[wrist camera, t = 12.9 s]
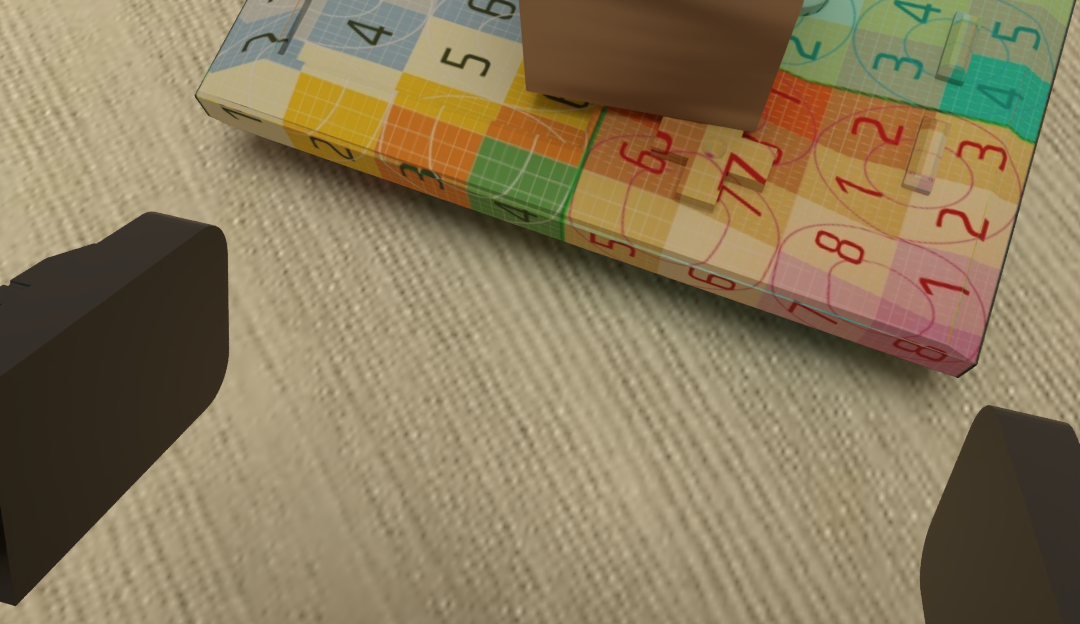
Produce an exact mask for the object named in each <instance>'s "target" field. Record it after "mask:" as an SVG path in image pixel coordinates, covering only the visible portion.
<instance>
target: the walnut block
mask: <svg viewBox="0 0 1080 624" xmlns="http://www.w3.org/2000/svg"><path fill="white" fill-rule="evenodd" d="M803 3H804V0H519V10H520V22H521V34H522V46H523V59H524V71H525V83H526V91H529V92H534V93H540V94H545V95H551V96H556V97H562V98H567V99H573V100H578V101H584V102H589V103H595V104H600V105H606V106H611V107H617V108H622V109H628V110H634V111H639V112H645V113H650V114H656V115H661V116H667V117H672V118H678V119H683V120H689V121H694V122H700V123H705V124H711V125H716V126H722V127H727V128H733V129H738V130H744V131H750V132H756V129H757V127H758V124H759V121H760V119H761V116H762V113H763V110H764V108H765V105H766V102H767V100H768V97H769V94H770V92H771V89H772V86H773V84H774V81H775V78H776V75H777V73H778V70H779V67H780V65H781V62H782V59H783V57H784V54H785V51H786V48H787V46H788V43H789V40H790V38H791V35H792V32H793V30H794V27H795V24H796V22H797V19H798V16H799V13H800V11H801V8H802V5H803Z"/></svg>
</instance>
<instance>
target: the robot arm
mask: <svg viewBox="0 0 1080 624" xmlns="http://www.w3.org/2000/svg"><path fill="white" fill-rule="evenodd" d="M228 357H229V310H228V250H227V242H226V238H225V235H224V234H223V232H222V230H221V229H220V228H219V227H217V226H214V225H210V224H205V223H201V222H197V221H192V220H188V219H184V218H179V217H175V216H170V215H166V214H162V213H157V212H147V213H145V214H142V215H141V216H139V217H138V218H136V219H135V220H133V221H131V222H130V223H128V224H127V225H125V226H124V227H122V228H120V229H119V230H117V231H116V232H114V233H113V234H111V235H109V236H108V237H106V238H105V239H103V240H102V241H100V242H98V243H97V244H95V243H94V244H91V245H87V246H84V247H81V248H78V249H75V250H71V251H68V252H65V253H62V254H58V255H55V256H52V257H49V258H46V259H44V260H43V261H41V262H39V263H38V264H36V265H34V266H33V267H31V268H30V269H28V270H26V271H25V272H23V273H21V274H20V275H18V276H17V277H15V278H13V279H12V280H10V285H9V286H6V285H2V286H0V602H3V603H7V604H10V605H13V606H16V605H17V604H18V603H19V602H20V601H21V600H22V599H23V598H24V597H25V596H26V595H27V594H28V593H29V592H30V591H31V590H32V589H33V588H34V587H35V586H36V585H37V584H38V583H39V582H40V581H41V580H42V578H43V577H44V576H45V575H46V574H47V573H48V572H49V571H50V570H51V569H52V568H53V567H54V566H55V565H56V564H57V563H58V562H59V561H60V560H61V559H62V558H63V557H64V556H65V555H66V554H67V553H68V552H69V551H70V549H71V548H72V547H73V546H74V545H75V544H76V543H77V542H78V541H79V540H80V539H81V538H82V537H83V536H84V535H85V534H86V533H87V532H88V531H89V530H90V529H91V528H92V527H93V526H94V525H95V524H96V523H97V522H98V520H99V519H100V518H101V517H102V516H103V515H104V514H105V513H106V512H107V511H108V510H109V509H110V508H111V507H112V506H113V505H114V504H115V503H116V502H117V501H118V500H119V499H120V498H121V497H122V496H123V495H124V494H125V493H126V491H127V490H128V489H129V488H130V487H131V486H132V485H133V484H134V483H135V482H136V481H137V480H138V479H139V478H140V477H141V476H142V475H143V474H144V473H145V472H146V471H147V470H148V469H149V468H150V467H151V466H152V465H153V464H154V462H155V461H156V460H157V459H158V458H159V457H160V456H161V455H162V454H163V453H164V452H165V451H166V450H167V449H168V448H169V447H170V446H171V445H172V444H173V443H174V442H175V441H176V440H177V439H178V438H179V437H180V436H181V435H182V434H183V432H184V431H185V430H186V429H187V428H188V427H189V426H190V425H191V424H192V423H193V422H194V421H195V420H196V419H197V418H198V417H199V416H200V415H201V414H202V413H203V412H204V411H205V410H206V409H207V408H208V406H209V405H210V404H211V403H212V401H213V400H214V398H215V397H216V395H217V393H218V391H219V389H220V387H221V385H222V382H223V379H224V376H225V373H226V369H227V364H228ZM920 590H921V597H922V604H923V610H924V617H925V623H926V624H1080V444H1079V441H1078V439H1077V437H1076V434H1075V432H1074V430H1073V428H1072V427H1071V426H1070V425H1069V424H1068V423H1065V422H1061V421H1057V420H1052V419H1048V418H1043V417H1039V416H1035V415H1030V414H1026V413H1022V412H1017V411H1013V410H1009V409H1004V408H1000V407H996V406H991V405H987V406H985V407H983V408H982V409H981V410H980V411H979V413H978V414H977V416H976V417H975V419H974V421H973V423H972V425H971V427H970V430H969V432H968V434H967V437H966V439H965V442H964V444H963V447H962V449H961V451H960V454H959V456H958V459H957V461H956V463H955V466H954V468H953V471H952V473H951V476H950V478H949V480H948V483H947V485H946V488H945V490H944V492H943V495H942V497H941V500H940V502H939V504H938V507H937V509H936V512H935V514H934V517H933V519H932V521H931V524H930V527H929V529H928V532H927V536H926V539H925V543H924V548H923V553H922V559H921V567H920Z"/></svg>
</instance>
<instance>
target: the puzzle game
mask: <svg viewBox="0 0 1080 624" xmlns="http://www.w3.org/2000/svg"><path fill="white" fill-rule="evenodd" d="M1075 3H1076V0H804V3H803V5H802V8H801V11H800V13H799V16H798V19H797V22H796V24H795V27H794V30H793V32H792V35H791V38H790V40H789V43H788V46H787V48H786V51H785V54H784V57H783V59H782V62H781V65H780V67H779V70H778V73H777V75H776V78H775V81H774V84H773V86H772V89H771V92H770V94H769V97H768V100H767V102H766V105H765V108H764V110H763V113H762V116H761V119H760V121H759V124H758V127H757V129H756V132H750V131H744V130H738V129H733V128H727V127H722V126H716V125H711V124H705V123H700V122H694V121H689V120H683V119H678V118H672V117H667V116H661V115H656V114H650V113H645V112H639V111H634V110H628V109H622V108H617V107H611V106H606V105H600V104H595V103H589V102H584V101H578V100H573V99H567V98H562V97H556V96H551V95H545V94H540V93H534V92H529V91H526V83H525V71H524V59H523V46H522V34H521V22H520V10H519V0H246V2H245V4H244V6H243V7H242V9H241V11H240V13H239V15H238V17H237V18H236V20H235V22H234V24H233V26H232V28H231V29H230V31H229V33H228V35H227V37H226V39H225V40H224V42H223V44H222V46H221V48H220V50H219V51H218V53H217V55H216V57H215V59H214V61H213V62H212V64H211V66H210V68H209V70H208V72H207V73H206V75H205V77H204V79H203V81H202V83H201V85H200V86H199V88H198V90H197V92H196V94H195V98H196V99H197V100H198V102H199V103H200V105H201V106H202V107H203V109H204V110H205V112H206V113H207V114H208V116H210V117H212V118H215V119H217V120H219V121H221V122H223V123H225V124H227V125H230V126H232V127H235V128H238V129H241V130H244V131H247V132H249V133H252V134H255V135H258V136H261V137H264V138H267V139H270V140H273V141H275V142H278V143H281V144H284V145H287V146H290V147H293V148H296V149H299V150H301V151H304V152H307V153H310V154H313V155H316V156H319V157H322V158H324V159H327V160H330V161H333V162H336V163H339V164H342V165H345V166H348V167H350V168H353V169H356V170H359V171H362V172H365V173H368V174H371V175H374V176H376V177H379V178H382V179H385V180H388V181H391V182H394V183H397V184H400V185H402V186H405V187H408V188H411V189H414V190H417V191H420V192H423V193H426V194H428V195H431V196H434V197H437V198H440V199H443V200H446V201H449V202H452V203H454V204H457V205H460V206H463V207H466V208H469V209H472V210H475V211H477V212H480V213H483V214H486V215H489V216H492V217H495V218H498V219H501V220H503V221H506V222H509V223H512V224H515V225H518V226H521V227H524V228H527V229H529V230H532V231H535V232H538V233H541V234H544V235H547V236H550V237H553V238H555V239H558V240H561V241H564V242H567V243H570V244H573V245H576V246H579V247H581V248H584V249H587V250H590V251H593V252H596V253H599V254H602V255H605V256H607V257H610V258H613V259H616V260H619V261H622V262H625V263H628V264H630V265H633V266H636V267H639V268H642V269H645V270H648V271H651V272H654V273H656V274H659V275H662V276H665V277H668V278H671V279H674V280H677V281H680V282H682V283H685V284H688V285H691V286H694V287H697V288H700V289H703V290H706V291H708V292H711V293H714V294H717V295H720V296H723V297H726V298H729V299H732V300H734V301H737V302H740V303H743V304H746V305H749V306H752V307H755V308H758V309H760V310H763V311H766V312H769V313H772V314H775V315H778V316H781V317H783V318H786V319H789V320H792V321H795V322H798V323H801V324H804V325H807V326H809V327H812V328H815V329H818V330H821V331H824V332H827V333H830V334H833V335H835V336H838V337H841V338H844V339H847V340H850V341H853V342H856V343H859V344H861V345H864V346H867V347H870V348H873V349H876V350H879V351H882V352H885V353H887V354H890V355H893V356H896V357H899V358H902V359H905V360H908V361H910V362H913V363H916V364H919V365H922V366H925V367H928V368H931V369H934V370H936V371H939V372H942V373H945V374H948V375H951V376H954V377H957V378H959V377H960V376H962V375H963V374H965V373H966V372H968V371H969V370H971V369H972V368H973V367H975V366H976V365H977V364H978V360H979V356H980V353H981V349H982V345H983V342H984V338H985V334H986V331H987V327H988V323H989V320H990V316H991V312H992V309H993V305H994V301H995V298H996V294H997V290H998V287H999V283H1000V279H1001V275H1002V272H1003V268H1004V264H1005V261H1006V257H1007V253H1008V250H1009V246H1010V242H1011V239H1012V235H1013V231H1014V228H1015V224H1016V220H1017V217H1018V213H1019V209H1020V206H1021V202H1022V198H1023V195H1024V191H1025V187H1026V183H1027V180H1028V176H1029V172H1030V169H1031V165H1032V161H1033V158H1034V154H1035V150H1036V147H1037V143H1038V139H1039V136H1040V132H1041V128H1042V125H1043V121H1044V117H1045V114H1046V110H1047V106H1048V102H1049V99H1050V95H1051V91H1052V88H1053V84H1054V80H1055V77H1056V73H1057V69H1058V66H1059V62H1060V58H1061V55H1062V51H1063V47H1064V44H1065V40H1066V36H1067V33H1068V29H1069V25H1070V22H1071V18H1072V14H1073V10H1074V7H1075Z"/></svg>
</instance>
